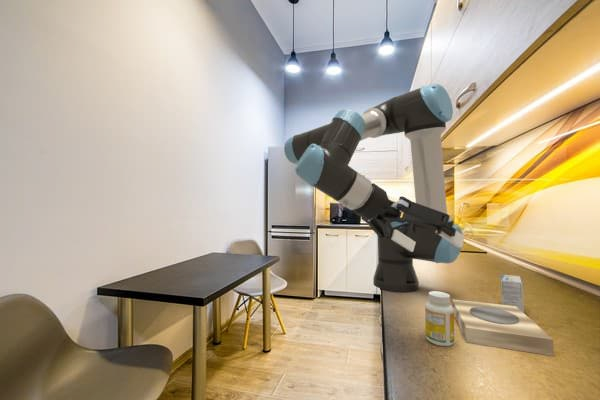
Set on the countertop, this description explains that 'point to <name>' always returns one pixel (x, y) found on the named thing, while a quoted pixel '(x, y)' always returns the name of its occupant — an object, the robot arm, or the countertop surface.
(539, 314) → the countertop surface
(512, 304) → the medicine box
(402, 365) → the countertop surface
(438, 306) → the supplement bottle
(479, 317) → the birch board
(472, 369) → the countertop surface
